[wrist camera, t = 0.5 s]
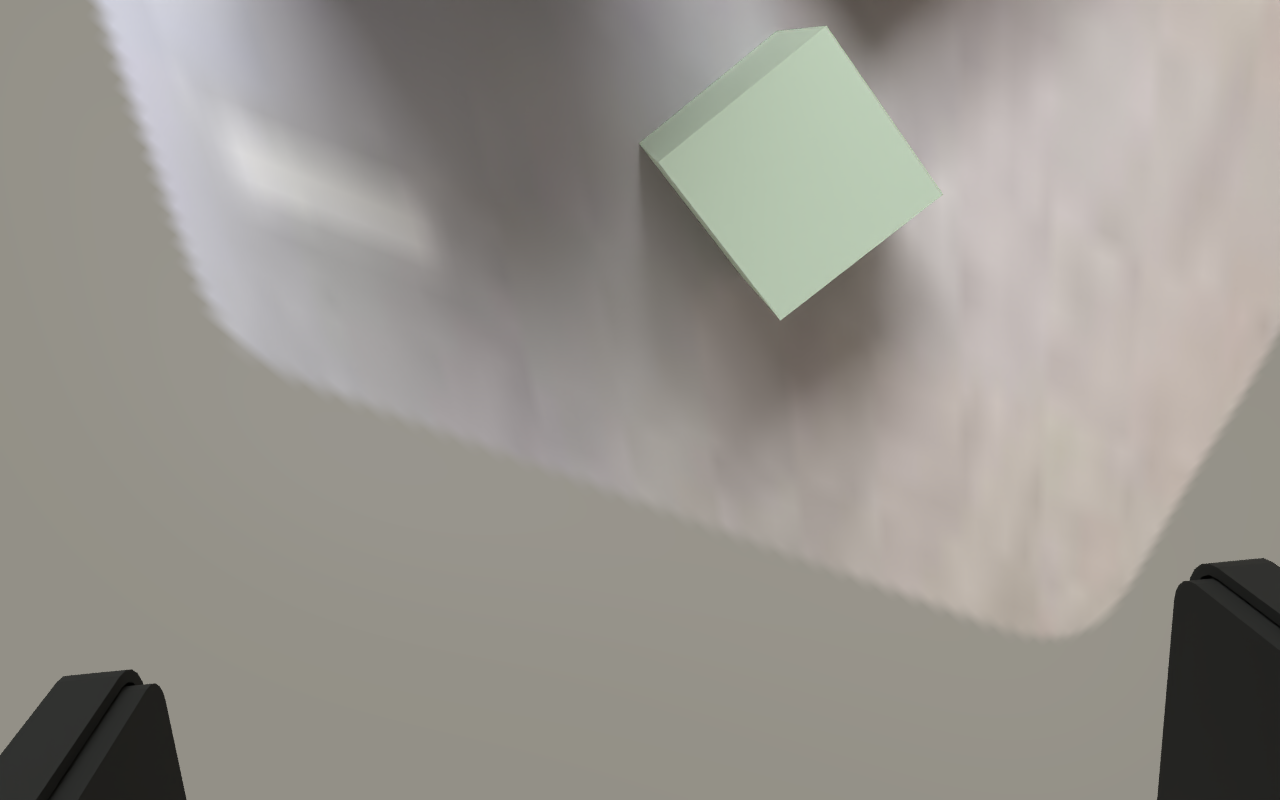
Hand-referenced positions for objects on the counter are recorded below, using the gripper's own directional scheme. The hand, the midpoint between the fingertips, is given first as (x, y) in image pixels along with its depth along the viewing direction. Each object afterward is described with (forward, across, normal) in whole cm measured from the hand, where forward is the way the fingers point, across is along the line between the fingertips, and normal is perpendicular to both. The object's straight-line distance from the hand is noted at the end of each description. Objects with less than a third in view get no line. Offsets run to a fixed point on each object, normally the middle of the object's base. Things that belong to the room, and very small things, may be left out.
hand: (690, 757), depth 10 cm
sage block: (+24, -5, -3) cm, 25 cm away
